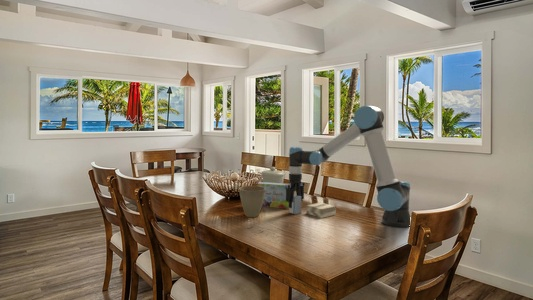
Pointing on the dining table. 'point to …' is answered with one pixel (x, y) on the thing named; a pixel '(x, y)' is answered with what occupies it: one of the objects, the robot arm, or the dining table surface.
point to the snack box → (274, 195)
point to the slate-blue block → (296, 204)
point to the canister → (273, 176)
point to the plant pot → (252, 199)
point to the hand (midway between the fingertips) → (294, 212)
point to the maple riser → (321, 210)
